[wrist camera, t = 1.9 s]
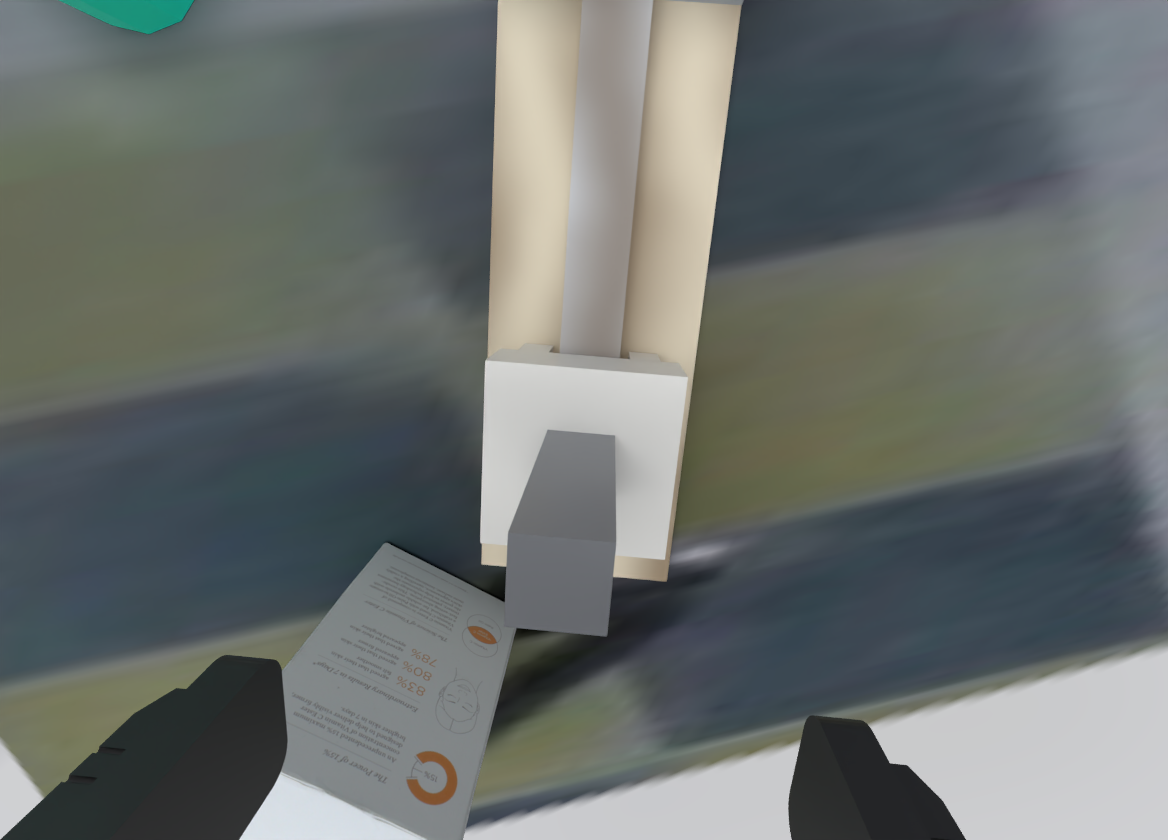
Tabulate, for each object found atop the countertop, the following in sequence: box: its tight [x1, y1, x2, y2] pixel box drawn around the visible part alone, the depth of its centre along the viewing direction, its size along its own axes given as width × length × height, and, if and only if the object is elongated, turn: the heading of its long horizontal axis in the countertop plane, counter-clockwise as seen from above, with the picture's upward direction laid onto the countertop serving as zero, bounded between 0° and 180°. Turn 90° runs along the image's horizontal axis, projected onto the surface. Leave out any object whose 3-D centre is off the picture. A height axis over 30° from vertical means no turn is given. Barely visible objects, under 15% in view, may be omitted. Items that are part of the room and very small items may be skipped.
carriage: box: [480, 343, 688, 636], centre depth 19 cm, size 7×7×13 cm
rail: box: [482, 0, 741, 582], centre depth 24 cm, size 9×24×4 cm, turn 176°
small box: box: [239, 543, 516, 840], centre depth 24 cm, size 8×6×13 cm
